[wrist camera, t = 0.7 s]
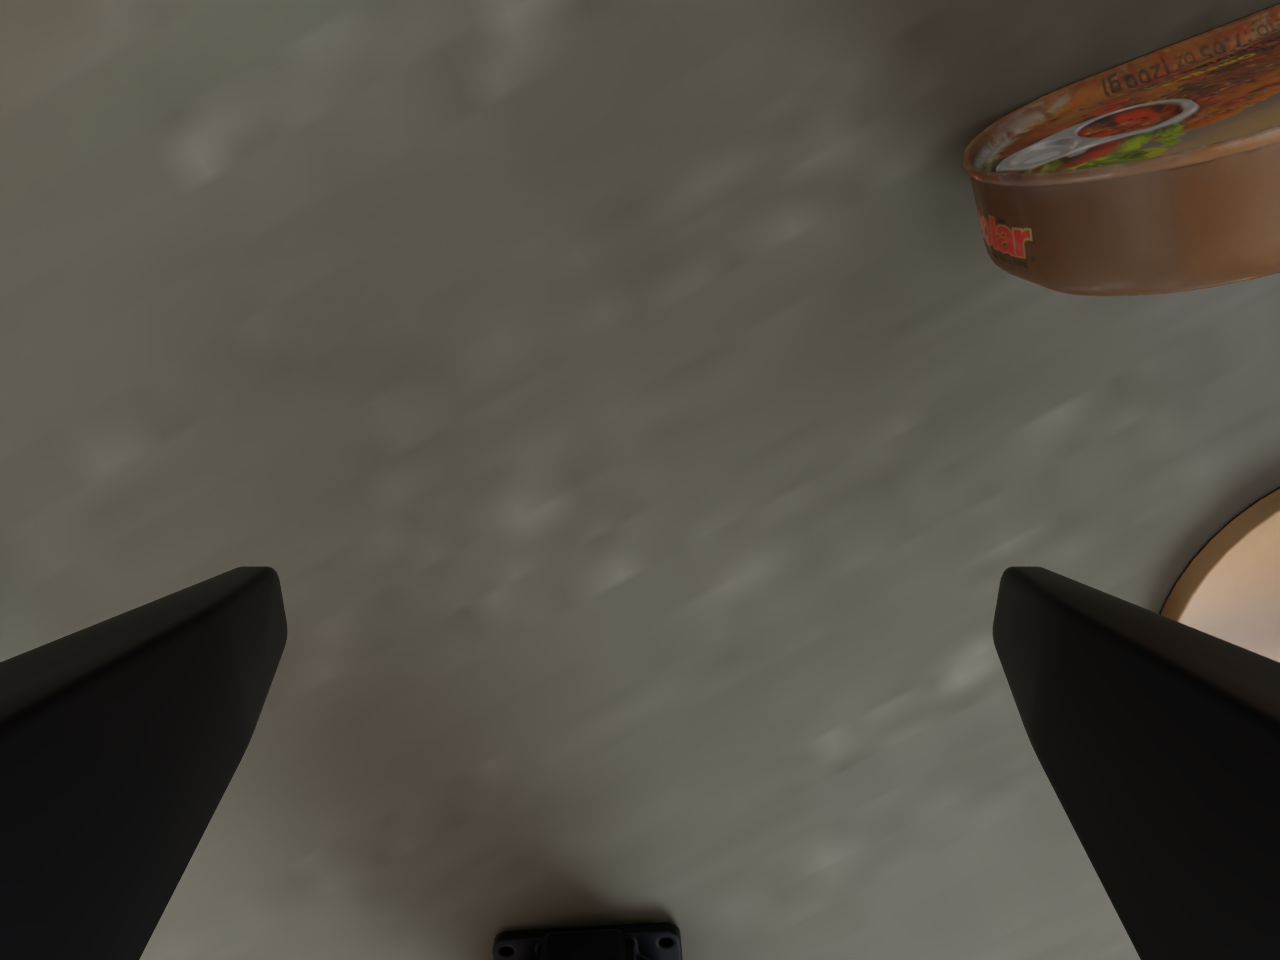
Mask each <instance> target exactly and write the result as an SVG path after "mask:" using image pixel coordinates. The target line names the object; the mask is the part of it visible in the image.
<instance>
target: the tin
mask: <svg viewBox="0 0 1280 960" xmlns="http://www.w3.org/2000/svg"><path fill="white" fill-rule="evenodd" d="M962 160H963V167H964V169H965V171H966V172H967V173H968V174H969V175H970V176H971V180H972V185H973V190H974V194H975V199H976V204H977V210H978V215H979V221H980V226H981V230H982V234H983V238H984V242H985V245H986V248H987V251H988V254H989V256H990V257H991V259H992V260H993V261H994V263H995V264H996V265H997V266H999V267H1000V268H1001V269H1003V270H1004V271H1006V272H1008V273H1009V274H1012V275H1015V276H1017V277H1020V278H1022V279H1025V280H1028V281H1030V282H1033V283H1036V284H1039V285H1041V286H1044V287H1046V288H1049V289H1052V290H1055V291H1059V292H1062V293H1068V294H1074V295H1088V296H1133V295H1151V294H1165V293H1173V292H1182V291H1191V290H1197V289H1204V288H1210V287H1215V286H1221V285H1226V284H1231V283H1236V282H1241V281H1246V280H1251V279H1256V278H1260V277H1264V276H1268V275H1272V274H1276V273H1280V4H1278V5H1276V6H1273V7H1271V8H1268V9H1265V10H1262V11H1260V12H1257V13H1254V14H1252V15H1249V16H1247V17H1244V18H1242V19H1239V20H1236V21H1234V22H1231V23H1229V24H1226V25H1223V26H1221V27H1218V28H1215V29H1213V30H1210V31H1208V32H1205V33H1202V34H1200V35H1197V36H1195V37H1192V38H1189V39H1187V40H1184V41H1181V42H1179V43H1176V44H1173V45H1171V46H1168V47H1165V48H1163V49H1160V50H1158V51H1155V52H1152V53H1150V54H1147V55H1145V56H1142V57H1140V58H1137V59H1134V60H1132V61H1129V62H1127V63H1124V64H1122V65H1119V66H1116V67H1114V68H1111V69H1109V70H1106V71H1103V72H1101V73H1098V74H1096V75H1093V76H1090V77H1088V78H1085V79H1083V80H1080V81H1078V82H1075V83H1073V84H1071V85H1068V86H1065V87H1063V88H1061V89H1058V90H1056V91H1054V92H1052V93H1050V94H1047V95H1045V96H1042V97H1041V98H1039V99H1037V100H1035V101H1033V102H1031V103H1029V104H1027V105H1025V106H1023V107H1021V108H1019V109H1017V110H1016V111H1014V112H1012V113H1010V114H1008V115H1006V116H1004V117H1003V118H1001V119H999V120H998V121H996V122H995V123H993V124H992V125H990V126H989V127H987V128H985V129H984V130H983V131H982V132H981V133H980V134H979V135H978V136H976V137H975V138H974V139H973V140H972V141H971V143H970V144H969V145H968V147H967V148H966V149H965V151H964V154H963V159H962Z"/></svg>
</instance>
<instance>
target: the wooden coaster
mask: <svg viewBox="0 0 1280 960" xmlns="http://www.w3.org/2000/svg"><path fill="white" fill-rule="evenodd" d="M1161 615H1162V616H1164V617H1167V618H1169V619H1172V620H1174V621H1177V622H1180V623H1182V624H1185V625H1187V626H1190V627H1192V628H1195V629H1197V630H1200V631H1202V632H1205V633H1207V634H1210V635H1212V636H1215V637H1217V638H1220V639H1222V640H1225V641H1227V642H1230V643H1232V644H1235V645H1237V646H1240V647H1242V648H1245V649H1247V650H1250V651H1252V652H1255V653H1257V654H1260V655H1262V656H1265V657H1267V658H1270V659H1272V660H1275V661H1277V662H1280V489H1278V490H1276V491H1275V492H1273V493H1271V494H1270V495H1268V496H1266V497H1265V498H1263V499H1261V500H1259V501H1258V502H1257V503H1255V504H1254V505H1252V506H1251V507H1250V508H1248V509H1247V510H1246V511H1244V512H1243V513H1242V514H1240V515H1239V516H1238V517H1236V518H1235V519H1234V520H1232V521H1231V522H1230V523H1229V524H1228V525H1227V526H1226V527H1225V528H1224V529H1222V530H1221V531H1220V532H1219V533H1218V534H1217V535H1216V536H1215V537H1214V538H1213V539H1211V541H1210V542H1209V543H1208V544H1207V545H1206V546H1205V547H1204V548H1203V549H1202V551H1201V552H1200V553H1199V554H1198V555H1197V556H1196V557H1195V558H1194V560H1193V561H1192V562H1191V563H1190V565H1189V566H1188V568H1187V569H1186V570H1185V572H1184V573H1183V575H1182V576H1181V577H1180V579H1179V580H1178V582H1177V583H1176V585H1175V587H1174V589H1173V590H1172V592H1171V594H1170V596H1169V598H1168V599H1167V601H1166V603H1165V605H1164V607H1163V610H1162V612H1161Z"/></svg>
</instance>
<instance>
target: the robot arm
mask: <svg viewBox="0 0 1280 960" xmlns="http://www.w3.org/2000/svg"><path fill="white" fill-rule="evenodd" d="M286 640H287V622H286V616H285V610H284V604H283V598H282V592H281V586H280V581H279V577H278V575H277V573H276V571H275V570H274V569H273V568H271V567H239V568H236V569H233V570H231V571H228V572H226V573H223V574H221V575H218V576H216V577H213V578H211V579H208V580H206V581H203V582H201V583H198V584H196V585H193V586H191V587H188V588H186V589H183V590H181V591H178V592H176V593H173V594H171V595H168V596H166V597H163V598H161V599H158V600H156V601H153V602H151V603H148V604H146V605H143V606H141V607H138V608H136V609H133V610H131V611H128V612H126V613H123V614H121V615H118V616H116V617H113V618H111V619H108V620H106V621H103V622H101V623H98V624H96V625H93V626H91V627H88V628H86V629H83V630H80V631H78V632H75V633H73V634H70V635H68V636H65V637H63V638H60V639H58V640H55V641H53V642H50V643H48V644H45V645H43V646H40V647H38V648H35V649H33V650H30V651H28V652H25V653H23V654H20V655H18V656H15V657H13V658H10V659H8V660H5V661H3V662H0V960H139V959H140V957H141V955H142V953H143V951H144V949H145V947H146V945H147V943H148V941H149V939H150V937H151V935H152V933H153V931H154V930H155V928H156V926H157V924H158V922H159V920H160V918H161V916H162V914H163V912H164V910H165V908H166V906H167V904H168V902H169V900H170V898H171V896H172V894H173V892H174V890H175V888H176V886H177V884H178V883H179V881H180V879H181V877H182V875H183V873H184V871H185V869H186V867H187V865H188V863H189V861H190V859H191V857H192V855H193V853H194V851H195V849H196V847H197V845H198V843H199V841H200V839H201V837H202V836H203V834H204V832H205V830H206V828H207V826H208V824H209V822H210V820H211V818H212V816H213V814H214V812H215V810H216V808H217V806H218V804H219V802H220V800H221V798H222V796H223V794H224V792H225V790H226V789H227V787H228V785H229V783H230V781H231V779H232V777H233V775H234V773H235V771H236V769H237V767H238V765H239V763H240V761H241V759H242V757H243V755H244V753H245V751H246V749H247V746H248V744H249V742H250V740H251V737H252V735H253V732H254V730H255V727H256V724H257V722H258V719H259V716H260V713H261V711H262V708H263V705H264V702H265V700H266V697H267V694H268V691H269V689H270V686H271V683H272V681H273V678H274V675H275V672H276V670H277V667H278V664H279V661H280V659H281V656H282V653H283V650H284V648H285V644H286ZM993 640H994V644H995V648H996V650H997V653H998V656H999V659H1000V661H1001V664H1002V667H1003V670H1004V672H1005V675H1006V678H1007V680H1008V683H1009V686H1010V689H1011V691H1012V694H1013V697H1014V700H1015V702H1016V705H1017V708H1018V711H1019V713H1020V716H1021V719H1022V722H1023V724H1024V727H1025V730H1026V732H1027V735H1028V737H1029V739H1030V742H1031V744H1032V746H1033V749H1034V751H1035V753H1036V755H1037V757H1038V759H1039V761H1040V763H1041V765H1042V767H1043V769H1044V771H1045V773H1046V775H1047V777H1048V779H1049V781H1050V783H1051V785H1052V787H1053V788H1054V790H1055V792H1056V794H1057V796H1058V798H1059V800H1060V802H1061V804H1062V806H1063V808H1064V810H1065V812H1066V814H1067V816H1068V818H1069V820H1070V822H1071V824H1072V826H1073V828H1074V830H1075V832H1076V834H1077V835H1078V837H1079V839H1080V841H1081V843H1082V845H1083V847H1084V849H1085V851H1086V853H1087V855H1088V857H1089V859H1090V861H1091V863H1092V865H1093V867H1094V869H1095V871H1096V873H1097V875H1098V877H1099V879H1100V881H1101V882H1102V884H1103V886H1104V888H1105V890H1106V892H1107V894H1108V896H1109V898H1110V900H1111V902H1112V904H1113V906H1114V908H1115V910H1116V912H1117V914H1118V916H1119V918H1120V920H1121V922H1122V924H1123V926H1124V928H1125V930H1126V931H1127V933H1128V935H1129V937H1130V939H1131V941H1132V943H1133V945H1134V947H1135V949H1136V951H1137V953H1138V955H1139V957H1140V959H1141V960H1280V662H1277V661H1275V660H1272V659H1270V658H1267V657H1265V656H1262V655H1260V654H1257V653H1255V652H1252V651H1250V650H1247V649H1245V648H1242V647H1240V646H1237V645H1235V644H1232V643H1230V642H1227V641H1225V640H1222V639H1220V638H1217V637H1215V636H1212V635H1210V634H1207V633H1205V632H1202V631H1200V630H1197V629H1195V628H1192V627H1190V626H1187V625H1185V624H1182V623H1180V622H1177V621H1174V620H1172V619H1169V618H1167V617H1164V616H1162V615H1159V614H1157V613H1154V612H1152V611H1149V610H1147V609H1144V608H1142V607H1139V606H1137V605H1134V604H1132V603H1129V602H1127V601H1124V600H1122V599H1119V598H1117V597H1114V596H1112V595H1109V594H1107V593H1104V592H1102V591H1099V590H1097V589H1094V588H1092V587H1089V586H1087V585H1084V584H1082V583H1079V582H1077V581H1074V580H1072V579H1069V578H1067V577H1064V576H1062V575H1059V574H1057V573H1054V572H1052V571H1049V570H1047V569H1044V568H1041V567H1009V568H1007V569H1006V570H1005V571H1004V573H1003V575H1002V577H1001V581H1000V587H999V593H998V599H997V605H996V610H995V616H994V622H993ZM665 937H667V938H665ZM505 946H508V947H505ZM493 957H494V960H682V948H681V936H680V930H679V928H678V927H677V926H676V925H674V924H672V923H666V922H663V923H646V924H628V925H610V926H593V927H575V928H557V929H540V930H522V931H506V932H501V933H500V934H498V935H497V936H496V937H495V940H494V945H493Z"/></svg>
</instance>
